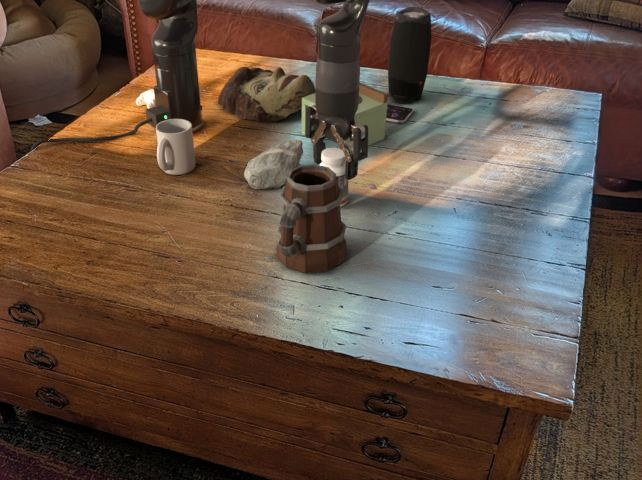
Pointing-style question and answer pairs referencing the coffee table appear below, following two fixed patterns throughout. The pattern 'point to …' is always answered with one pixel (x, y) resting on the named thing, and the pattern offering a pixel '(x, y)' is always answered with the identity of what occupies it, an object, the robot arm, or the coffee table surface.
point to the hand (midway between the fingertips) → (334, 170)
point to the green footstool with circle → (361, 112)
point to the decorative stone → (273, 165)
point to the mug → (311, 220)
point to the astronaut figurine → (147, 99)
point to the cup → (175, 146)
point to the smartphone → (398, 113)
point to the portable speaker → (409, 54)
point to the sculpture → (264, 94)
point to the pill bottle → (336, 168)
